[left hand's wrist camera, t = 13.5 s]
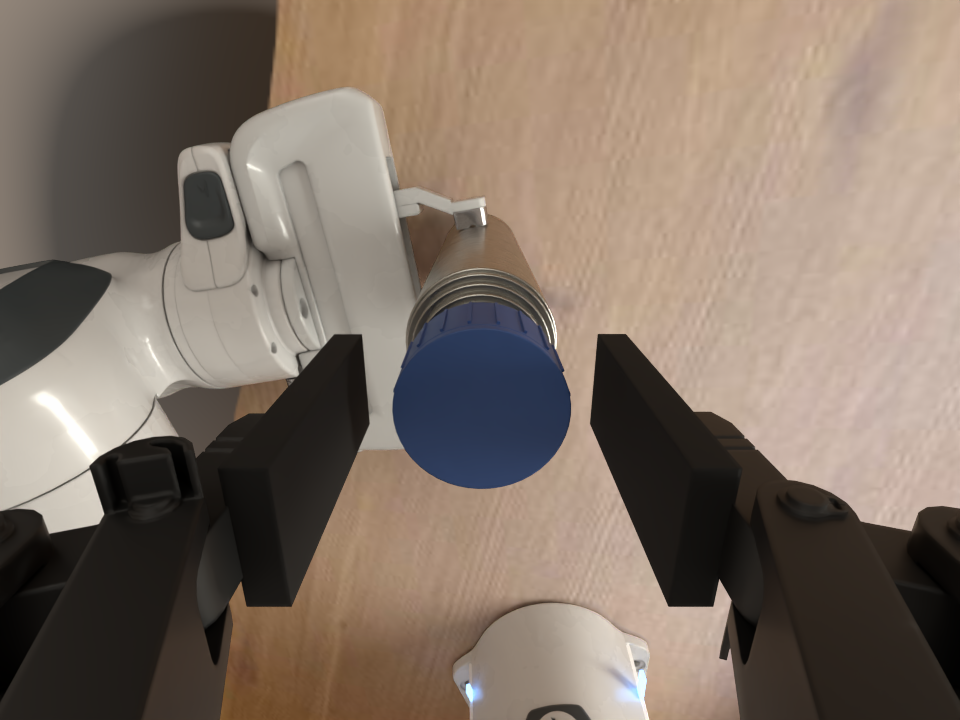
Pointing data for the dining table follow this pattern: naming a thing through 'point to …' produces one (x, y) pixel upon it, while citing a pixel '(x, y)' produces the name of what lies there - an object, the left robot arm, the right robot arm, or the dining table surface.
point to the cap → (481, 397)
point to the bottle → (481, 278)
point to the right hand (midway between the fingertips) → (496, 266)
